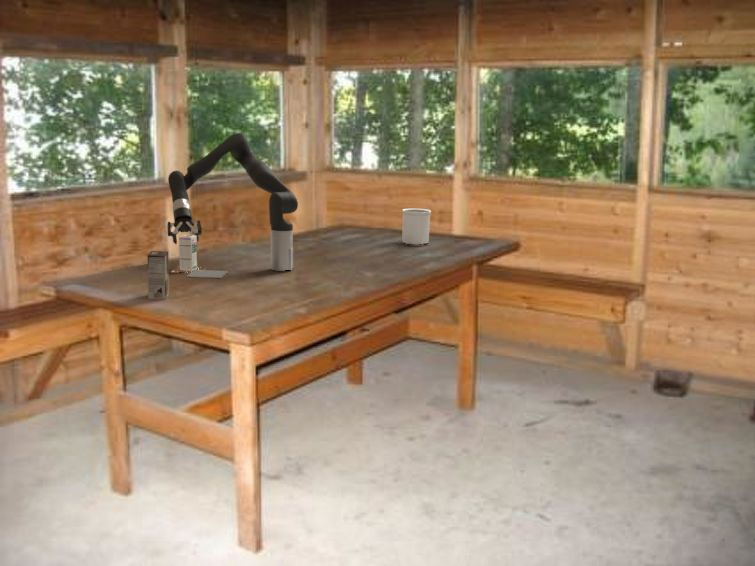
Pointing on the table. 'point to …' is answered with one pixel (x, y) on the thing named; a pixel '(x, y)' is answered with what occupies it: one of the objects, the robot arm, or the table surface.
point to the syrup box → (188, 252)
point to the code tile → (186, 271)
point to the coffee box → (158, 275)
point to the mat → (207, 274)
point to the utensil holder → (416, 225)
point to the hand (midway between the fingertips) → (186, 242)
